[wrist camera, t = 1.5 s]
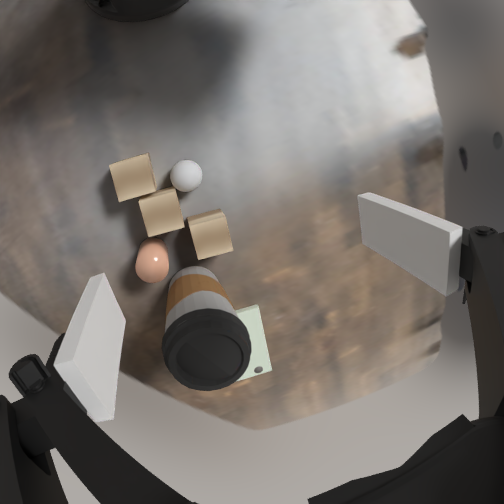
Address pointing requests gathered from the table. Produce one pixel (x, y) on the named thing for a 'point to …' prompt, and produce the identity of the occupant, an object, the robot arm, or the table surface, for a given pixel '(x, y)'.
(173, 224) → the maple cube
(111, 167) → the maple cube
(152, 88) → the table surface
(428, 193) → the table surface
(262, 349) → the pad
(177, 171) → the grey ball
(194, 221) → the maple cube
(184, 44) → the table surface
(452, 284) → the robot arm
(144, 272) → the pink rounded piece
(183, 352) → the coffee cup
